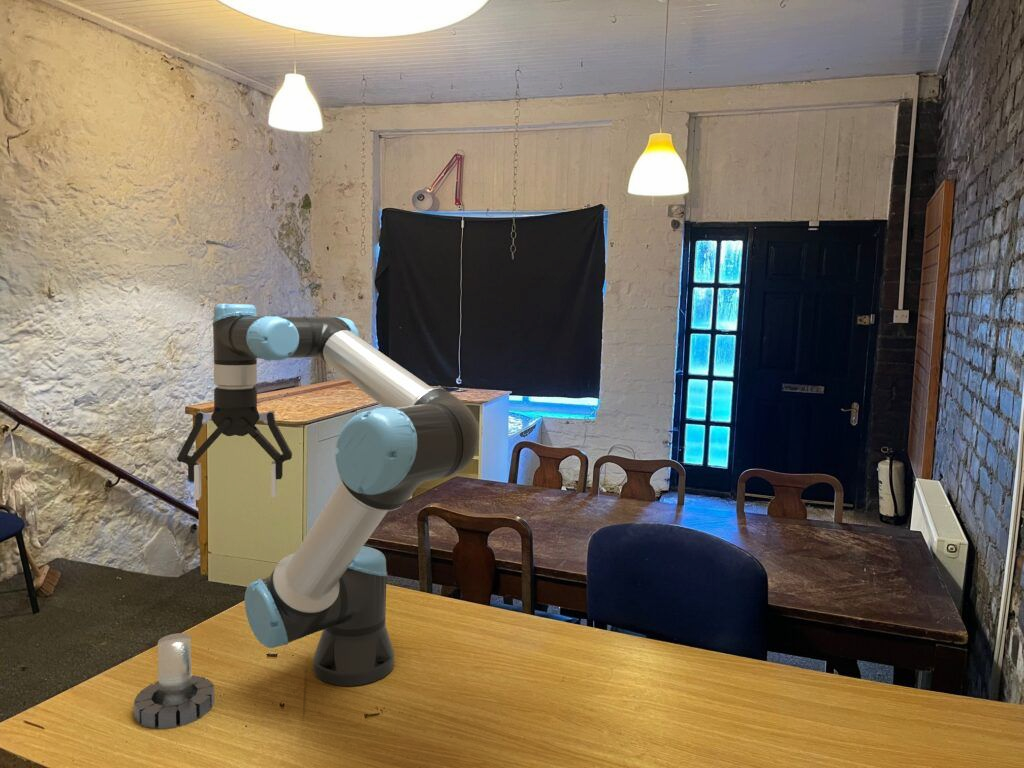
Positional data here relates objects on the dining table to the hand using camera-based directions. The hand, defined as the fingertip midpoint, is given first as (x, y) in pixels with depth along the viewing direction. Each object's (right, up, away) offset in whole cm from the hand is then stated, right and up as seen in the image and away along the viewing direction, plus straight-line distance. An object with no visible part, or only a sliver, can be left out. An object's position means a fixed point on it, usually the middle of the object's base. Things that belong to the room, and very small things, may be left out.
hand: (236, 497), depth 135 cm
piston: (-5, -33, -15) cm, 37 cm away
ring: (-5, -33, -15) cm, 37 cm away
